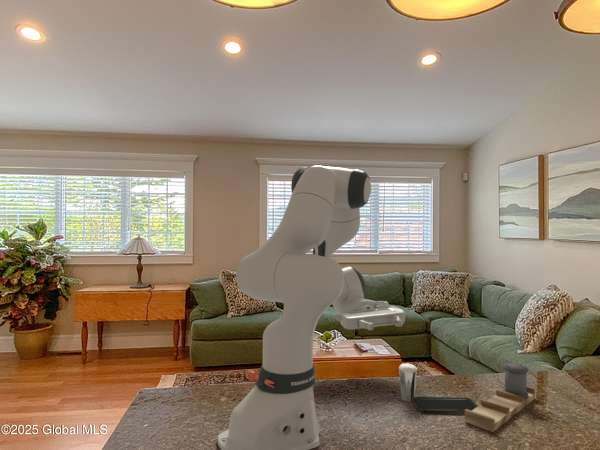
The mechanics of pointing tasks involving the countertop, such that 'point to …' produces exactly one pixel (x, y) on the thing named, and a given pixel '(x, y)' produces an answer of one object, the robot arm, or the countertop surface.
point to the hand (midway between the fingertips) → (386, 325)
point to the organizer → (498, 409)
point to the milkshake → (407, 381)
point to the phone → (443, 405)
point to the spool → (516, 379)
